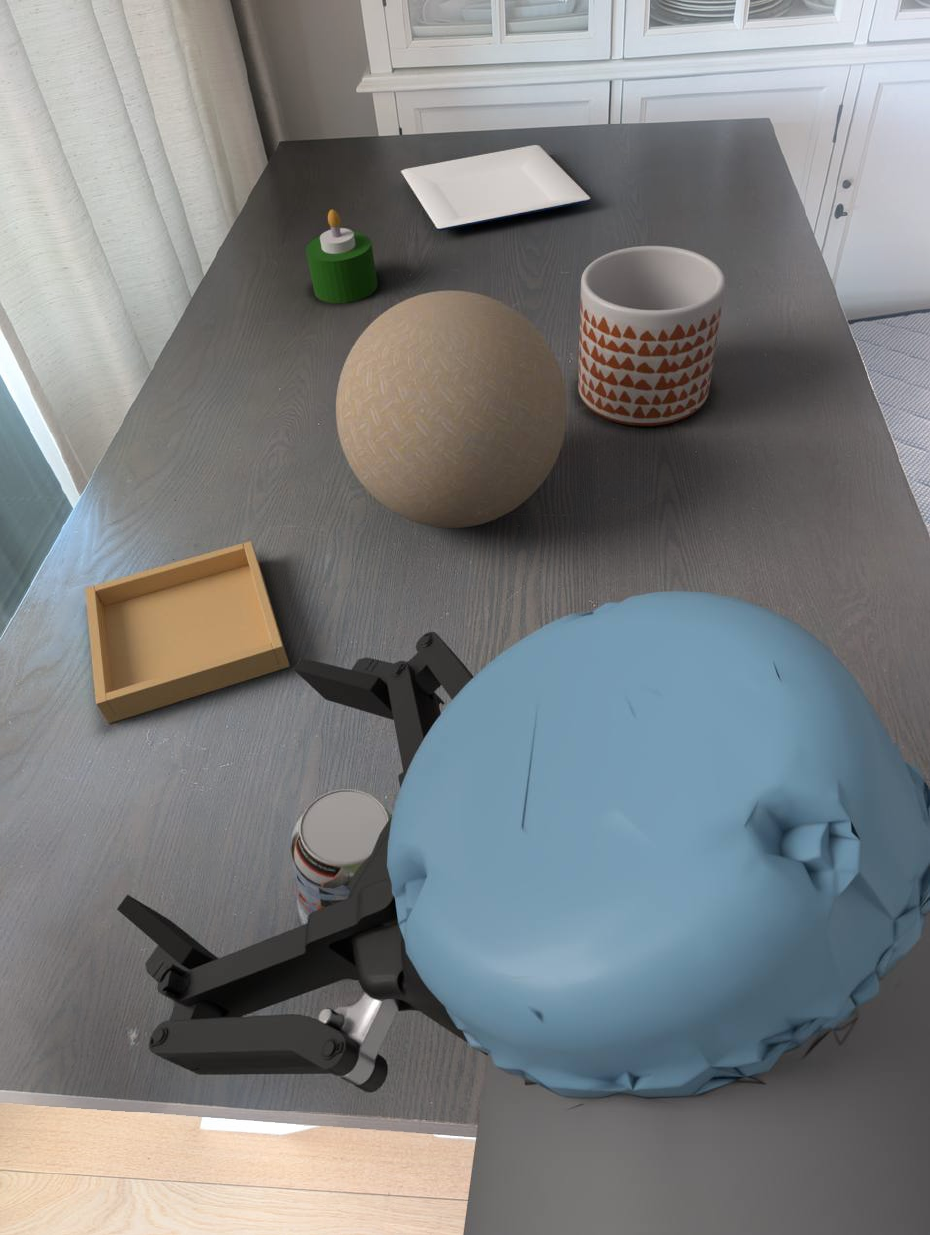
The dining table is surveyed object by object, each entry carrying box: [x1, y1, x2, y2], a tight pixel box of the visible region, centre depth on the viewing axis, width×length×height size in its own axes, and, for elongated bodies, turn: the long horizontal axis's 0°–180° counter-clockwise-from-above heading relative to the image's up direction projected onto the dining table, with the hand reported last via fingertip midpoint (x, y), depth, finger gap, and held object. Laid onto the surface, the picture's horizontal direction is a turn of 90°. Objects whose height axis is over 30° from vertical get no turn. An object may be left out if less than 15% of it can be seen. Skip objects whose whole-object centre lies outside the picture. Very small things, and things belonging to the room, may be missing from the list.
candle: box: [305, 209, 378, 304], centre depth 113 cm, size 8×8×10 cm
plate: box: [400, 144, 591, 231], centre depth 132 cm, size 22×22×2 cm
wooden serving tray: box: [84, 540, 290, 724], centre depth 75 cm, size 15×14×3 cm
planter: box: [578, 245, 726, 427], centre depth 91 cm, size 14×14×13 cm
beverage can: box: [290, 788, 392, 927], centre depth 53 cm, size 6×7×12 cm
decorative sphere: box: [335, 290, 568, 529], centre depth 78 cm, size 20×20×20 cm
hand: (233, 789), depth 44 cm, fingers open, 13 cm apart
